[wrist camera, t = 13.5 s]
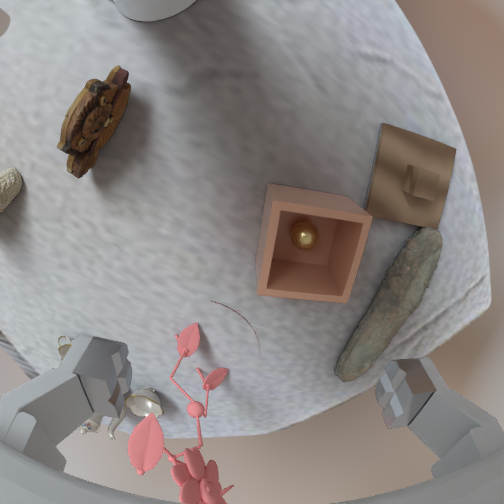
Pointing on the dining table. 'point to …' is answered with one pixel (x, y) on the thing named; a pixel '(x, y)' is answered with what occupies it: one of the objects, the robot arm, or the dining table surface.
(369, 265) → the dining table surface
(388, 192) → the walnut lid
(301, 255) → the terracotta box
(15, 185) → the fossil tooth
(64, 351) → the chinaware
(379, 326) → the long grey stone
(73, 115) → the wooden carving
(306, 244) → the brass ball
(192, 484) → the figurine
